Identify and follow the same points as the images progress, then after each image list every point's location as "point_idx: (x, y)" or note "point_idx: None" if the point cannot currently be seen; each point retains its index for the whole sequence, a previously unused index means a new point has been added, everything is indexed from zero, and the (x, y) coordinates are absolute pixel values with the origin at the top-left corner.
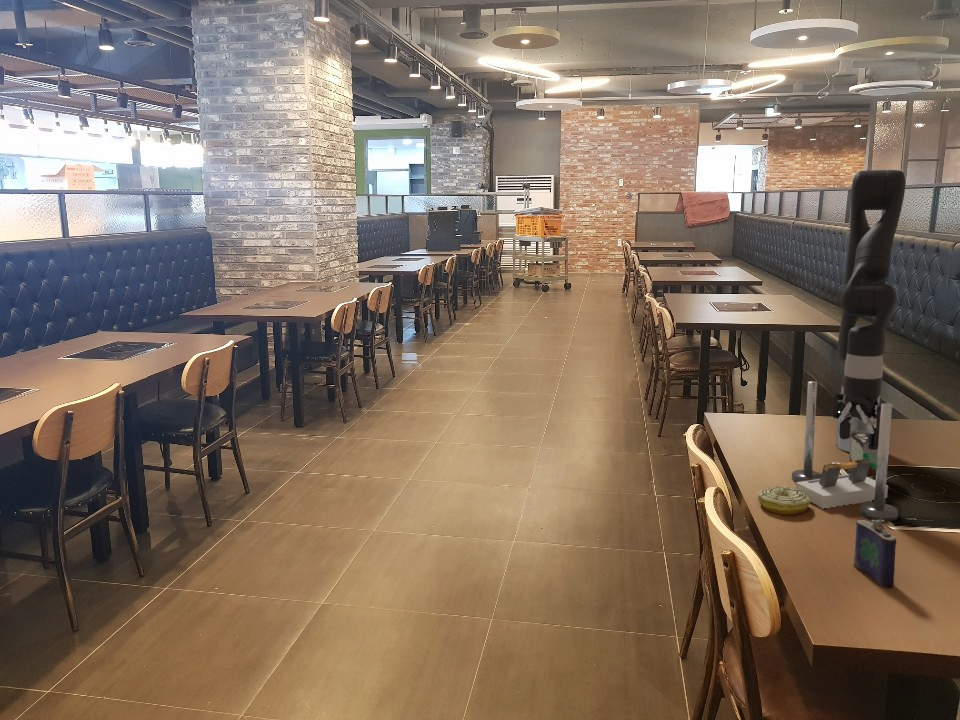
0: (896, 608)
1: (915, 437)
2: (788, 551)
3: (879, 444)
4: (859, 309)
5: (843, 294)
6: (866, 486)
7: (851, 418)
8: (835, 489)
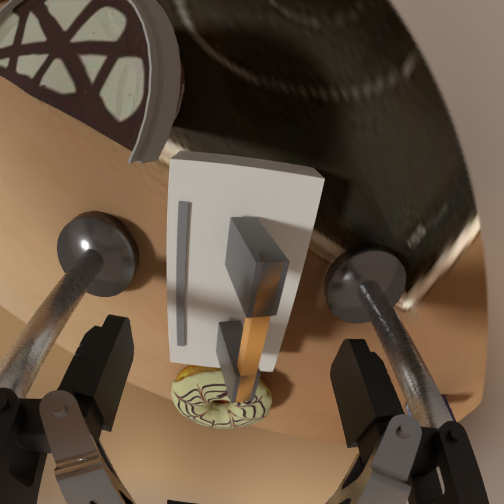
0: (450, 407)
1: None
2: (336, 434)
3: None
4: None
5: None
6: (287, 243)
7: (92, 436)
8: None
